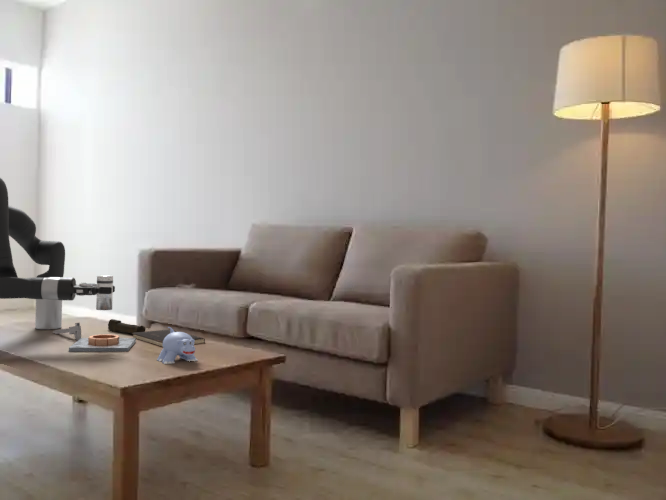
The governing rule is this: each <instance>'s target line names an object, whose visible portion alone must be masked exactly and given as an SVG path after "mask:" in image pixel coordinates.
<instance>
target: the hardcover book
mask: <svg viewBox="0 0 666 500" xmlns="http://www.w3.org/2000/svg"><path fill="white" fill-rule="evenodd" d="M173 330H174V329H173ZM174 332H180V331H178V330H176V329H175V330H174ZM168 334H170V328H167V329H160V330H159V329H158V330H157V329H156V330H149V331H145V332H136V333H132V334H131V335H133V336H132V338H136V340H140V341H143V342H146V343H150V344H153V345H156V346H159V347H162V348H163V340H164V338H165V337H166V336H167V335H168ZM187 334H188V335H190V336H191V337H192V338H193V339H194V340H195V342H194V345H198V344H205V343H206V340H205V337H200V336H198V335H193V334H190V333H187Z"/></svg>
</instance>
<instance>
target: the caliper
mask: <svg viewBox="0 0 666 500" xmlns="http://www.w3.org/2000/svg"><path fill="white" fill-rule="evenodd" d="M54 333H55V335H59V334H65V333H67V334H68V333H69V335H73V336H74V340H75V341H78V340H79V339H81V338H82V325H81V324H80V322H75V323H74V326H69V327H68V328H59V329H53V331H52V334H54Z"/></svg>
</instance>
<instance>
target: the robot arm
mask: <svg viewBox="0 0 666 500" xmlns="http://www.w3.org/2000/svg"><path fill="white" fill-rule="evenodd" d="M36 233H37V225H36V224H35V221H34V220H33V219H32V218H31V217H30V216H29V215H28V214H27V213H26V212H25V211H24V210H22V209H20V208H18V207H15V206H12V205H9V192H8V188H7V184H6V182H5V181H4V180H3V178H2V177H0V300H1V299H3V300H5V299H6V300H7V299H12V300H13V299H29V300H35V323H34V326H35V327H34V328H35V330H36V329H37V330H59V329H62V328H63V327H62V325H63V324H62V322H63V320H62V319H63V318H62V317H63V315H62V314H63V301H74V300H75V299H76V296H80V297H84V296H97V295H98V294H99V293H100V294H111V293H112V288H111V287H100V288H99V287H98V286H97V283H86V282H81V283H79V284H77V281H76V278H75V277H64V274H65V265H66V264H65V262H66V248H65V245H64V243H63V242H61V241H57V240H41V239H40V238H38V237H37V236H36ZM10 238H12V240H14V241H15V242H16V243H17V244H18V245H19V246H20V247H21V248H22V249H23V250H24V251H25V253H26V254H27V255H28V256H29V257H30V259H31V260H32V261H33V262H34V263H36V264H38V265H41V266H48V270H47V271H45V272H43V273H41V274H38V275H36V276H35V277H18V273H17V271H16V268H15V266H14V262H13V255H12V248H11V241H10ZM115 291H116V286H115V285H113V293H114V292H115Z"/></svg>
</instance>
